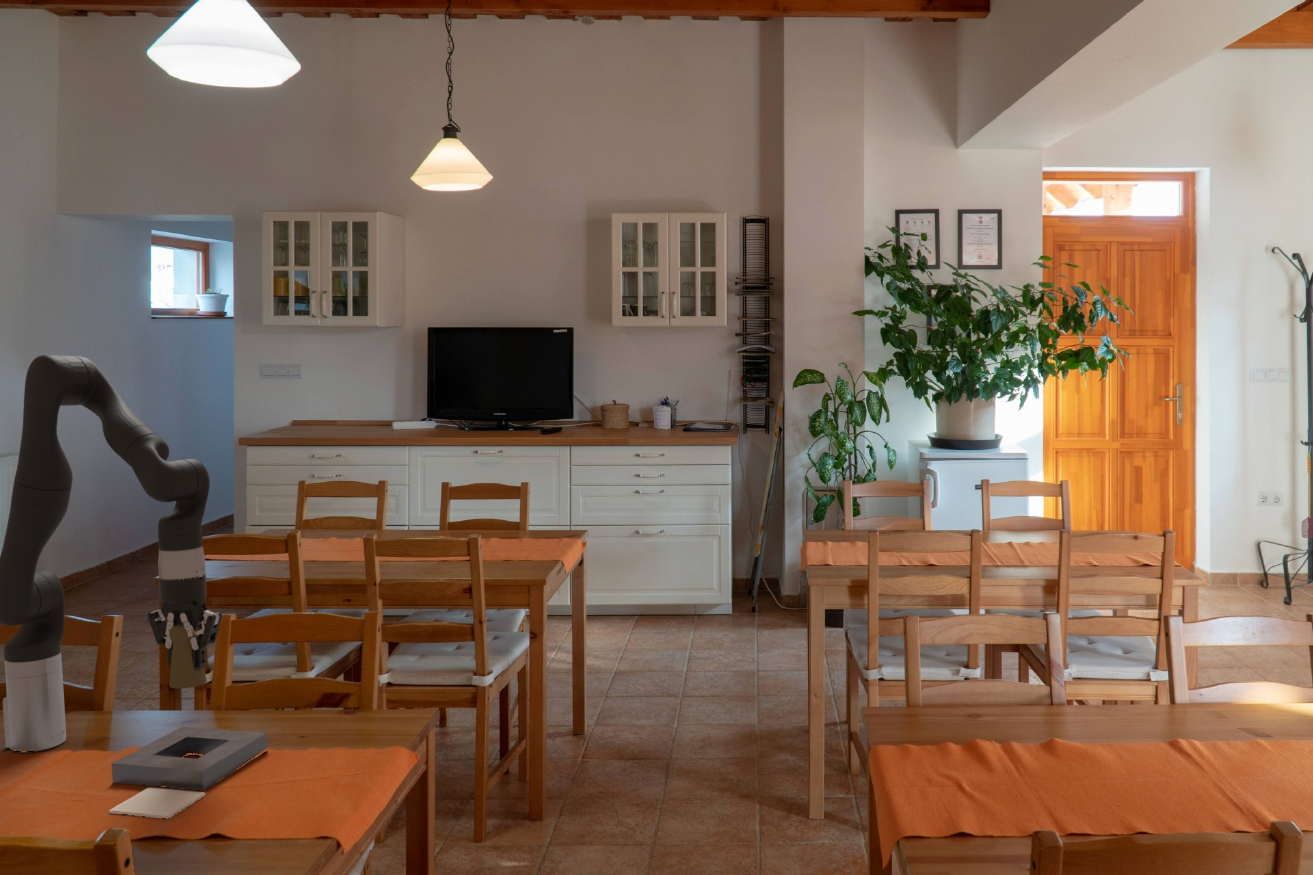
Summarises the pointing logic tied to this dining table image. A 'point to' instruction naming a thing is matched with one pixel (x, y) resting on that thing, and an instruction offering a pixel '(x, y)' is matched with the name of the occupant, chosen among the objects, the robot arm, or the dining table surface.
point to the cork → (183, 660)
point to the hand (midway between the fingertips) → (187, 668)
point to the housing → (169, 769)
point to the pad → (157, 803)
